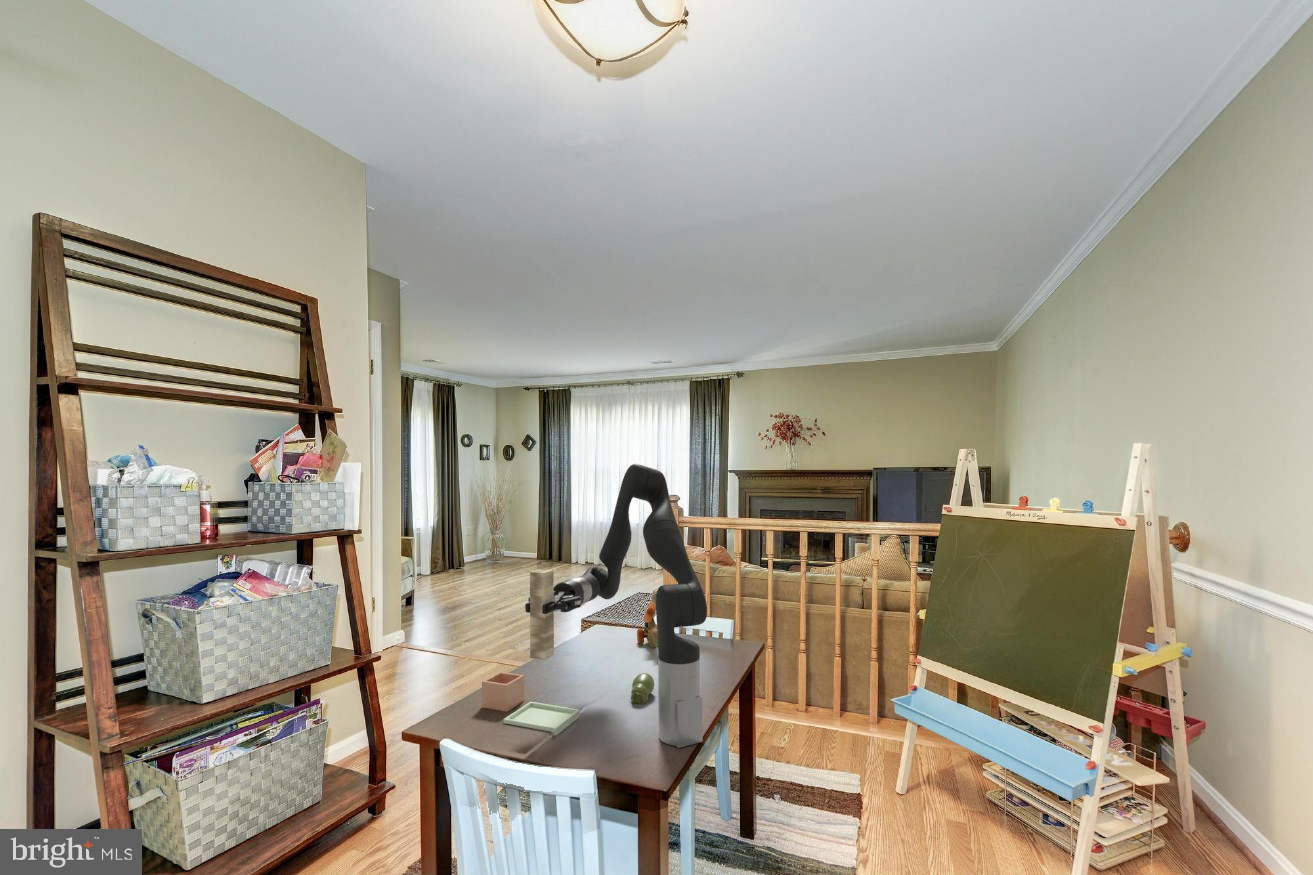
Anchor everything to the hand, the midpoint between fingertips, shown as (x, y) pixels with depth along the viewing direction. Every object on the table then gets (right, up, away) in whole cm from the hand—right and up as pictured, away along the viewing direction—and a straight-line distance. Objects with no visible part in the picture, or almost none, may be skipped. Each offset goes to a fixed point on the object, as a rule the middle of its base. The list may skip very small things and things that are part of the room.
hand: (535, 608), depth 139 cm
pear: (+24, -28, +15) cm, 40 cm away
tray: (+1, -27, +1) cm, 27 cm away
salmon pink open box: (-10, -27, +10) cm, 31 cm away
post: (+1, -12, +2) cm, 12 cm away
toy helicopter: (+27, -29, +57) cm, 69 cm away
